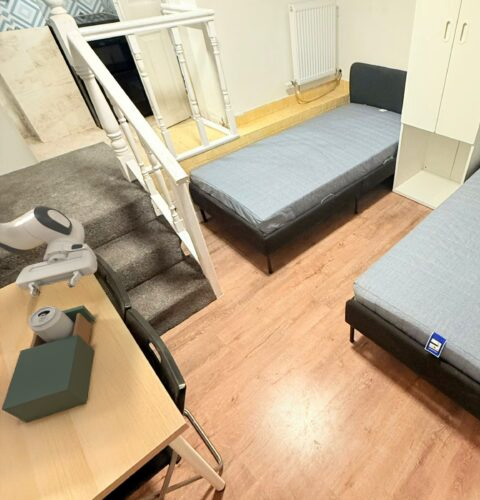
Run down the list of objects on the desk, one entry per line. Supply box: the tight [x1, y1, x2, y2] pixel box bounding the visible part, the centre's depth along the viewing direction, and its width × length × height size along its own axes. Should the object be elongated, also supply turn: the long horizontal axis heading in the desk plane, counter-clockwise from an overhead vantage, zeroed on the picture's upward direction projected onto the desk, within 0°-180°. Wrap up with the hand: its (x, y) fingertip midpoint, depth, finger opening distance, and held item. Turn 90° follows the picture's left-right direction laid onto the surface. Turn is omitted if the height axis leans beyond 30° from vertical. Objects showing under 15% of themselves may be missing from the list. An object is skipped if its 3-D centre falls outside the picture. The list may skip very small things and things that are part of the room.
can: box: [28, 305, 75, 343], centre depth 92 cm, size 8×8×12 cm
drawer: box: [29, 304, 96, 348], centre depth 94 cm, size 16×12×7 cm
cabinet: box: [1, 335, 95, 423], centre depth 85 cm, size 16×14×9 cm
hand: (53, 290), depth 95 cm, fingers open, 8 cm apart
